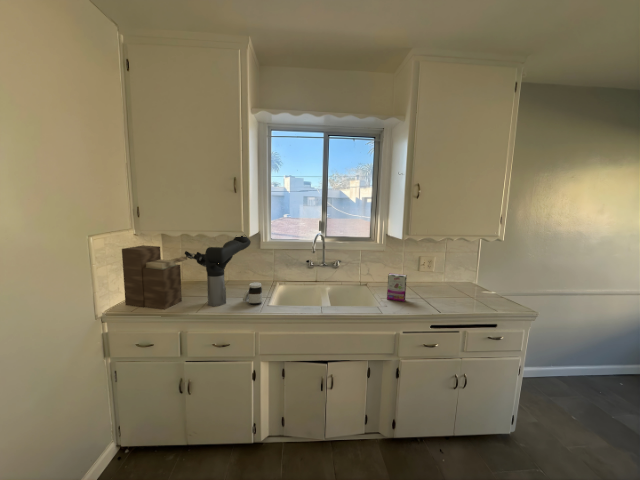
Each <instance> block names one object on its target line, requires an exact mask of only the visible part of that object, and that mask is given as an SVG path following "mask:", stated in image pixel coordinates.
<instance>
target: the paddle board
mask: <svg viewBox="0 0 640 480" xmlns="http://www.w3.org/2000/svg"><path fill="white" fill-rule="evenodd" d="M187 260H188V257H186V256H179V257H176V258H172V259H162V258H161V259H160V260H156V261H152V262H148V263H146V267H147V268H158V269H163V268H166V267H170V266H173V265H175V264H177V263H181V262H184V261H185V262H186V261H187Z"/></svg>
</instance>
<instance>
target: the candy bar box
mask: <svg viewBox="0 0 640 480" xmlns="http://www.w3.org/2000/svg"><path fill="white" fill-rule="evenodd" d="M407 276H408V275H407V274H400V273H399V274H398V273H389V274H387V293H386V299H387V300H390V301H395V302H396V301H397V302H402V303H405V302H406V294H407V279H408V277H407Z"/></svg>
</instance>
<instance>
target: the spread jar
mask: <svg viewBox="0 0 640 480" xmlns="http://www.w3.org/2000/svg"><path fill="white" fill-rule="evenodd" d="M248 286H249V287H248V290H247V291H246V292H244V294H243V296H242V301H243V302H247V301H248V305H250V306H258V305H261V304H262V302H263V287H262V283H261V282H257V281H255V282H251V283H249V285H248Z"/></svg>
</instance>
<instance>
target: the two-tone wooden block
mask: <svg viewBox="0 0 640 480" xmlns="http://www.w3.org/2000/svg"><path fill="white" fill-rule="evenodd" d="M161 253H162V252H161V246H157V245H144V244H143V245H138V246H137V245H136V246H130V247H125V248H121V258H122V259H121V260H122V270H123V271H122V272H123V288H124V299H125V300H124V303H125V306H130V307H139V308H148V309H149V308H150V309H159V310H166V309H169V308H171V307H173V306H176V305H178V304H179V303H182V301H183V300H182V274H181V272H182V271H181V264H177V263H175V265H173V266H170V267H166V268H163V269H158V268H147V267H146V263H148V262H152V261H156V260H160V259H161V260H162V257H161V256H162V255H161Z"/></svg>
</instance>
